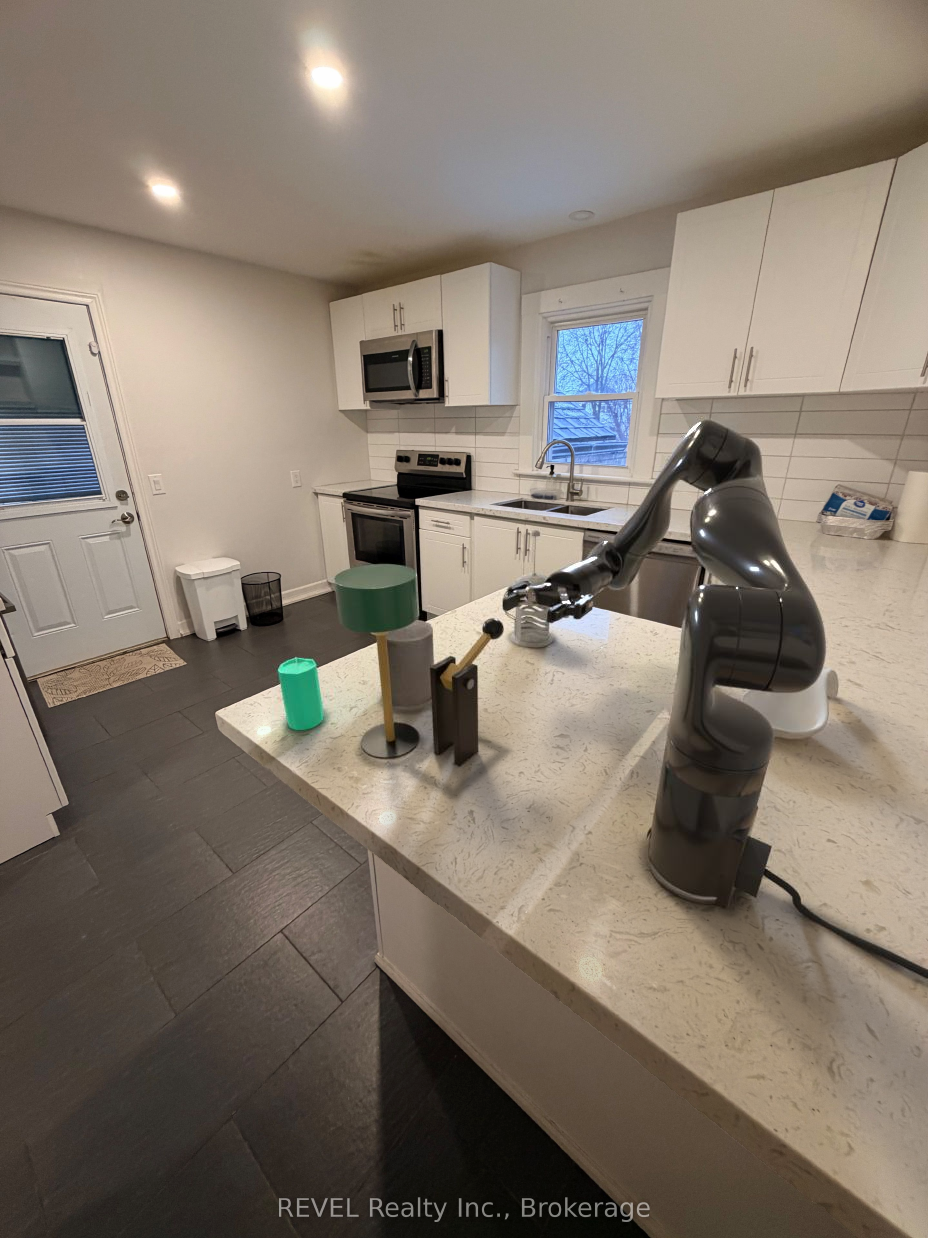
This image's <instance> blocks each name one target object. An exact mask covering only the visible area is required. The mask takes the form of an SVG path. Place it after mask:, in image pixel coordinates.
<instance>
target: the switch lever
mask: <svg viewBox="0 0 928 1238" xmlns="http://www.w3.org/2000/svg"><path fill="white" fill-rule="evenodd" d="M481 629H482V634H481V635H480V636H479V638H478V639H477V640H476V642H475V643H474V644H473V645H472V647H471V648H470V649H469V650H468V652H467V653H466V654H465V655H464V656H463V658H462V659H461V660H460V661H459V662H458V664H457V663H456V664H453V663H451V664H450V665H449V667H448V668H447V669H446V670H445V671H444V673H443V674H442V675H441V676H440V678H441V680H442V682H443V684H444V686H445V688H447V689H449V690H452V675H454V674H456V673H457V672H459V671H461V670H462V669H464V668H466V667H467V666H469V665H471V664H474V661H475V660H476V659H477V658H478V657H479V655H480V654H481V653H482V652H483V650H484V649H485V648H486V646H487V645H488V644H489V643H490V641H491V640H493V641H494V640H495V641H496V640H498V639H500V638H501V637H502V636H503V634H504V632H505V631H504V630H505V627H504V624H503V622H502V621H501V620H499V618H495V617H491V618H488V619H487V620H485V621H484V622H483V624H482V628H481Z"/></svg>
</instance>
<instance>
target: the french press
mask: <svg viewBox="0 0 928 1238" xmlns="http://www.w3.org/2000/svg"><path fill="white" fill-rule="evenodd" d="M540 536H541V532H540V531H539V530H537V529H534V530H532V532H531V537H534V555H533V572H531V573H527V574H522V575H520V576H518V577H517V578H516V579H515V584H518V583H521V582H523V581H530V586H536V585H541V584H543V583H545V581H546V580H547V578H548V577H549V576H546V575H544V574H541V573H536V571H535V570H536V548H537V546H536V545H537V544H536V543H537V537H540ZM505 597H507V590H506V591H505V593H504V594H503V597H502V599H503V598H505ZM525 599H526V596H525V597H523V598H521V600H525ZM532 601H536V600H535V596H534V593H532ZM522 606H523V605H518V606H517V607H515V615H513V614H511V613H509V611H504V613H505V615H506V616H507V617H508V618H509V619H511V620H514V622H513V623H514V628H513V629H514V630H513V631H514V632H513V633H512V634H511V635H510V638H509V639H510V640H511V642H512V643H513V644H516V645H517V646H521V647H525V648H542V647H546V646H549V645H550V644H552V643H553V642H554V637H553V635H551V633H550V623H548V622H547V612H548V610H549V609H551V607H548V606H546V607H544V606H535V607H536V608H535V607H534V606H533V607H529V606H528V605H524V606H523V607H522ZM537 608H539V609H541V610H539V609H537ZM536 618H537V619H536ZM538 619H539V620H538ZM540 620H541V621H540ZM540 625H541V626H540ZM542 626H543V627H542Z"/></svg>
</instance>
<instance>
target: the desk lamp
mask: <svg viewBox="0 0 928 1238" xmlns="http://www.w3.org/2000/svg"><path fill="white" fill-rule="evenodd" d="M333 583H334V584H333V585H334V592H335V600H336V609H337V616H338V623H339V625H340V626H342V628H344V629H346V630H349V631H353V632H356V633H357V632H358V633H365V634H368V633H370V634H371V635H373V636H375V638H376V639H375V640H376V650H377V660H378V670H379V680H380V681H379V683H380V693H381V702H382V703H381V704H382V713H383V723H380V724H377V725H376V726H373V727H371V728H370V729H368V730H367V731H366V732H365V733H364V734H363V735H362V738H361V739H360V745H361V749H362V751H363V752H364V753H365V754H366V755H368V756H370V757H373V758H376V759H380V760H381V759H383V760H391V759H396V758H400V757H403V756H406V755H408V754H410V753H411V752H413V751H414V750H415V749H416V747H417V746H418V745H419V743H420V740H421V739H420V738H421V737H420V733H419V731H418V730H417V728H415V727H414V726H412V725H411V724H408V723H405V722H397V721H394V712H393V704H392V698H391V686H390V675H389V663H388V651H387V640H386V634H388V633H389V632H391V631H392V630H397V629H400V628H403V627H406V626H408V625H410V624H412V623H413V622H415V621H416V620H419V616H420V607H419V591H418V575H417V571H416V570H415V569H413V568H412V567H409V566H406V565H402V564H401V565H400V564H391V563H377V564H376V563H375V564H364V565H359V566H353V567H350V568H347V569H345V570H342V571H340V572H339V573H337V574H336V575H335V576H334V577H333Z"/></svg>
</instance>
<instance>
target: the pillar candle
mask: <svg viewBox="0 0 928 1238" xmlns="http://www.w3.org/2000/svg"><path fill="white" fill-rule="evenodd" d="M386 640H387V651H388V663H389V675H390V686H391V698H392V706H397V707H413V706H414V707H415V706H419V705H422V704H424V703H427V702H428V701H430V700H431V681H430V667H431V666H433V665H434V664H435V654H434V652H435V651H434V628H433V626H432V624H431V623H430V622H427V621H424V620H419V619H417V620H416V621H415V622H413V623H412V624H410V625H408V626H406V627H403V628H400V629H397V630H392V631H391V632H389V633H388V634H386Z"/></svg>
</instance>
